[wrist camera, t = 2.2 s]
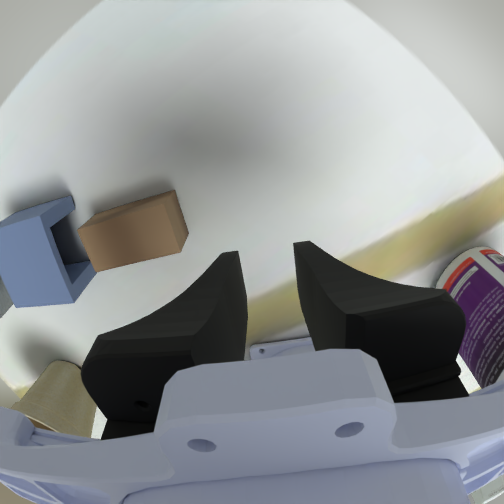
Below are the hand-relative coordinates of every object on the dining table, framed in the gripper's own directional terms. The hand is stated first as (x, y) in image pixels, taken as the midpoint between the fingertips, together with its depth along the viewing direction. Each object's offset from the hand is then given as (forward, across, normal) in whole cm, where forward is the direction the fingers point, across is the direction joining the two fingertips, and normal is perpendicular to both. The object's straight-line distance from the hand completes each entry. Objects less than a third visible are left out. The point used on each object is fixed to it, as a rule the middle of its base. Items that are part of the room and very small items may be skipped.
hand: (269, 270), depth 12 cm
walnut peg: (+9, +8, 0) cm, 12 cm away
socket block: (+8, +16, 0) cm, 18 cm away
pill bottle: (+9, -16, +9) cm, 21 cm away
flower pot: (+9, +22, +15) cm, 28 cm away
